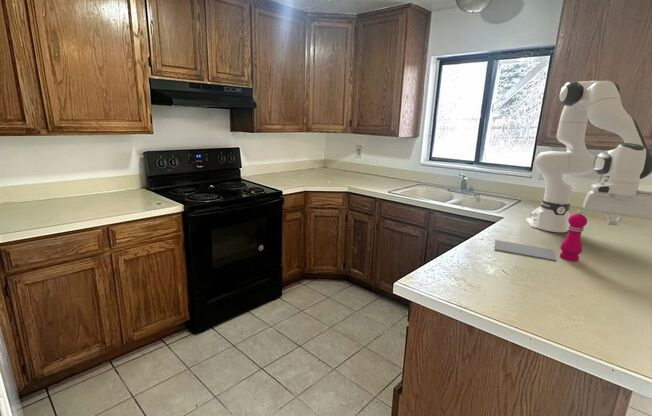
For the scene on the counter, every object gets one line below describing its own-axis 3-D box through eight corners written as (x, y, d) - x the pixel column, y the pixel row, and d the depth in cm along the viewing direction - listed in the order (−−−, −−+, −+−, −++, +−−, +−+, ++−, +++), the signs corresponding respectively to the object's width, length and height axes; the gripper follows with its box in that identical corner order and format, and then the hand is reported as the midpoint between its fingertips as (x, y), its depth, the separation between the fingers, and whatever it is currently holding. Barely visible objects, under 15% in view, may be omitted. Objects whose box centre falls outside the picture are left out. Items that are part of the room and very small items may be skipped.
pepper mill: (557, 253, 145) (568, 207, 140) (578, 257, 141) (590, 210, 136) (558, 259, 139) (569, 210, 134) (580, 263, 135) (592, 214, 130)
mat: (552, 250, 148) (552, 249, 148) (556, 261, 137) (556, 260, 137) (495, 241, 157) (495, 239, 157) (494, 250, 146) (494, 249, 146)
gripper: (655, 190, 126) (644, 227, 130) (586, 184, 135) (578, 218, 139) (661, 194, 121) (650, 231, 124) (590, 186, 129) (581, 222, 133)
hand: (612, 224), depth 132 cm, fingers closed
